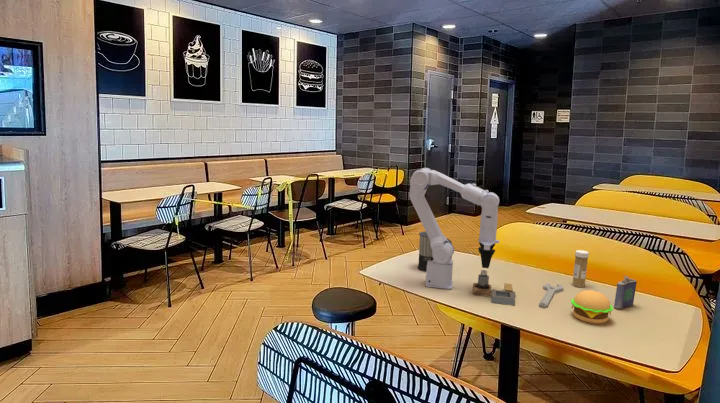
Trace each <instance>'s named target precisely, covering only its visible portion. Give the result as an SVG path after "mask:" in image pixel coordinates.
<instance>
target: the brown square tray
mask: <svg viewBox="0 0 720 403" xmlns="http://www.w3.org/2000/svg"><path fill="white" fill-rule="evenodd" d="M491 291H492V285H491V284H489V283H488V290H487V289H478V282H473V283H472V294H473V296H474V295H476V296H482V297H483V296H485V297H491Z"/></svg>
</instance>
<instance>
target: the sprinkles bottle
mask: <svg viewBox="0 0 720 403" xmlns="http://www.w3.org/2000/svg"><path fill="white" fill-rule="evenodd" d="M589 255H590V253H589V251H587V250H583V249H582V250H581V249H577V250H575V255H574V256H575V259H574V264H573V265H574V266H573V275H572V277H573V278H572V284H571V285H572V286H574V287H577V288H585V287H586V277H587V269H588V259H589Z"/></svg>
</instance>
